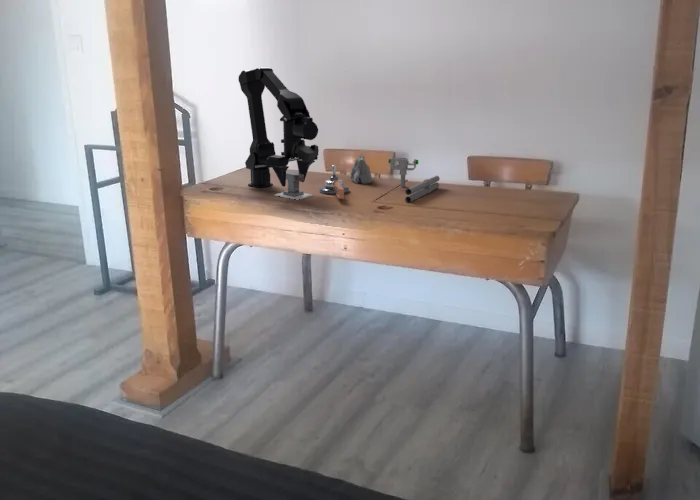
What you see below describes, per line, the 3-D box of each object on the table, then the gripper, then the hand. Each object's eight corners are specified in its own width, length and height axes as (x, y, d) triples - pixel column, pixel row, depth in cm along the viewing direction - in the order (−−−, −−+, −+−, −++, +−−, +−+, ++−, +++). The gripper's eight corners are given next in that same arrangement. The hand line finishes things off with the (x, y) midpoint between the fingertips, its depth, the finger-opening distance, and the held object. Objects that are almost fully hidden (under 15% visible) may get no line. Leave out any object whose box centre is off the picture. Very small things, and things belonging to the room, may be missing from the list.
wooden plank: (324, 186, 240) (324, 163, 238) (341, 185, 241) (341, 163, 239) (332, 199, 222) (332, 175, 219) (350, 198, 223) (350, 174, 220)
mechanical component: (416, 188, 244) (417, 159, 241) (387, 187, 246) (388, 158, 243) (417, 186, 247) (418, 158, 244) (388, 185, 249) (389, 157, 246)
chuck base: (313, 191, 238) (313, 188, 237) (331, 187, 245) (331, 184, 245) (336, 195, 232) (336, 193, 231) (354, 190, 239) (354, 188, 239)
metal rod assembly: (411, 204, 223) (412, 188, 222) (403, 203, 224) (404, 187, 223) (440, 189, 245) (441, 174, 243) (433, 188, 246) (433, 174, 245)
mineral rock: (355, 176, 264) (355, 149, 261) (382, 178, 260) (382, 151, 257) (341, 182, 253) (341, 155, 250) (369, 185, 249) (369, 157, 246)
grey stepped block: (281, 194, 231) (280, 173, 229) (290, 191, 235) (289, 171, 233) (297, 197, 227) (296, 175, 225) (305, 194, 231) (305, 173, 229)
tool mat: (274, 195, 231) (274, 194, 231) (289, 192, 237) (289, 190, 237) (297, 200, 226) (297, 198, 225) (312, 196, 231) (312, 194, 231)
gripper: (291, 142, 214) (292, 192, 218) (330, 135, 228) (330, 182, 233) (265, 138, 220) (266, 187, 225) (304, 132, 234) (304, 178, 239)
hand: (293, 184), depth 230 cm, fingers open, 9 cm apart
